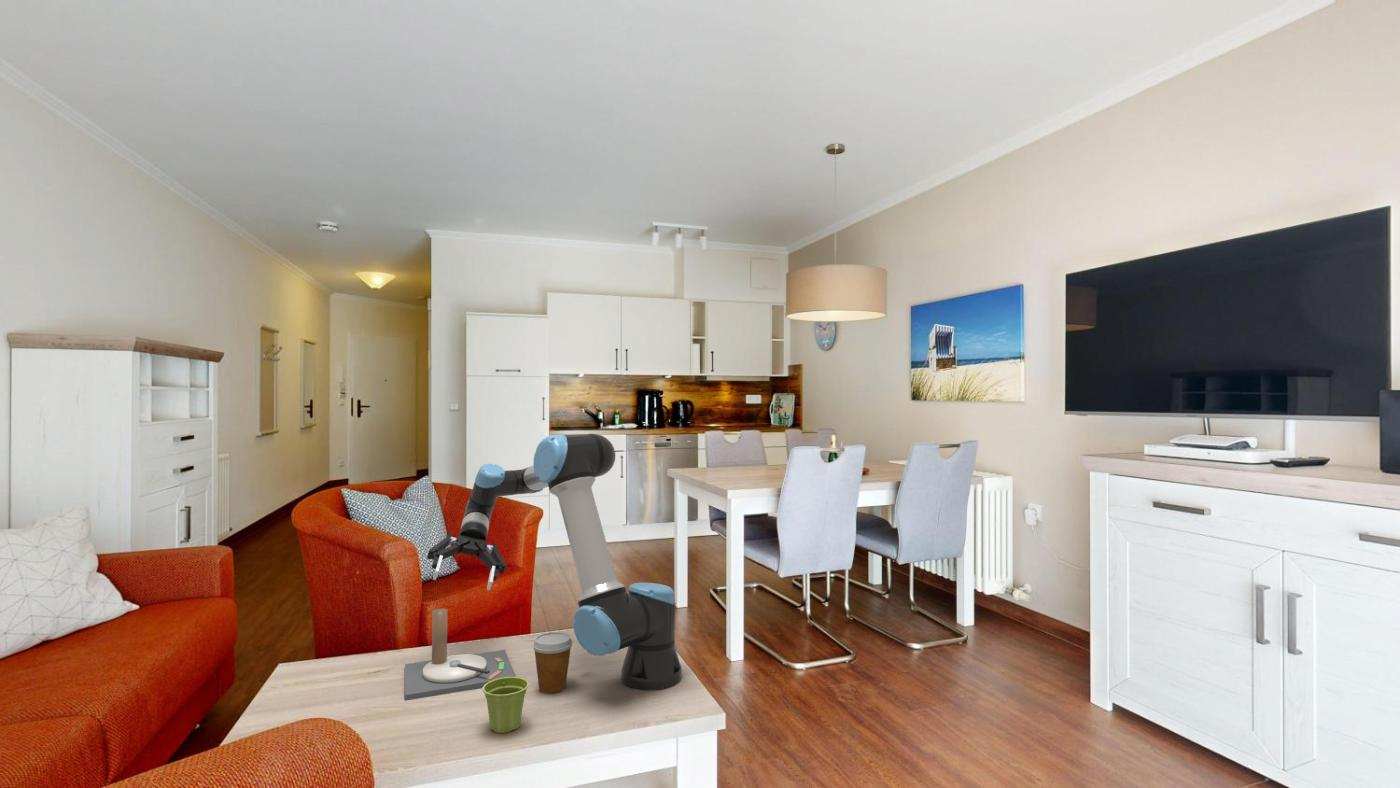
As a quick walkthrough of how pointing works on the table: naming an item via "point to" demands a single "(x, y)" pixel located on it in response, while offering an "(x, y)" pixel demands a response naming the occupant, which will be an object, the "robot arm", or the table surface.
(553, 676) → the disposable coffee cup
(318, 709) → the table surface
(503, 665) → the dial plate
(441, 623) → the post on round base
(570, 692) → the table surface
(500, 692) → the plant pot
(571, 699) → the table surface
